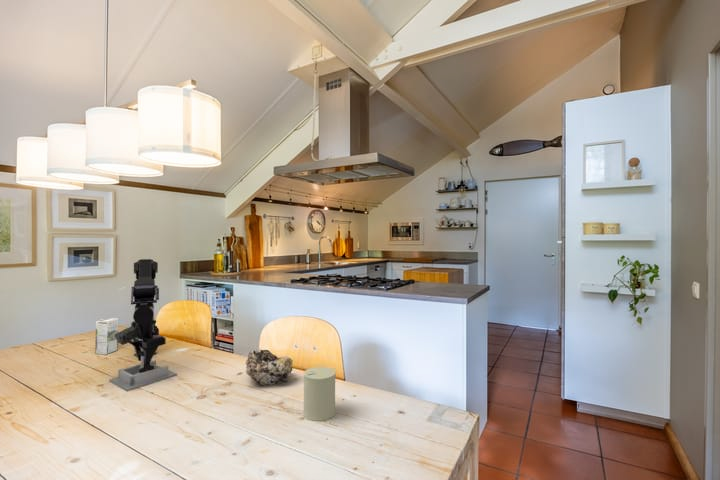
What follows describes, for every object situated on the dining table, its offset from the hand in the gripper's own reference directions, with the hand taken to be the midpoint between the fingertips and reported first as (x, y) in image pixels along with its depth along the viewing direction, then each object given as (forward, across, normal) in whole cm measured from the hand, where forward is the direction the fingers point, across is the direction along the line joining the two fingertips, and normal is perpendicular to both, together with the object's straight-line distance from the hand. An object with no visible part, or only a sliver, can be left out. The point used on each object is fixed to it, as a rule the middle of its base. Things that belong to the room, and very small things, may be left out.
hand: (143, 362), depth 120 cm
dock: (+6, 0, 0) cm, 6 cm away
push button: (+5, 0, 0) cm, 5 cm away
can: (+6, +67, +17) cm, 69 cm away
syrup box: (+6, -43, +4) cm, 43 cm away
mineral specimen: (+6, +38, +23) cm, 45 cm away
